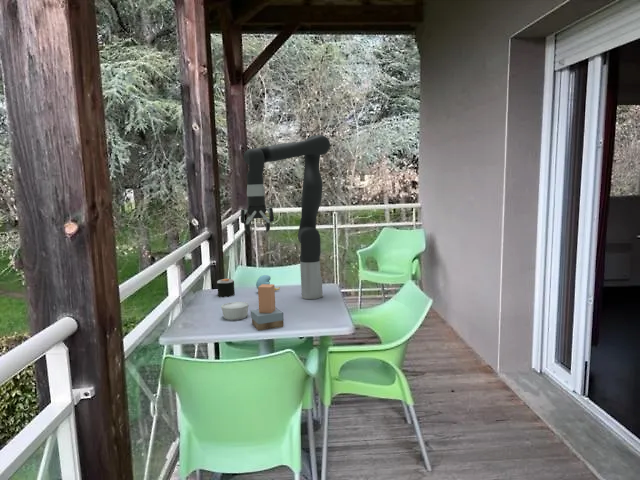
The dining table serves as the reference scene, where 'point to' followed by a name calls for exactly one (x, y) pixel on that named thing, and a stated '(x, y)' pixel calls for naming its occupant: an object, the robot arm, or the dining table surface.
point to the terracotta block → (266, 298)
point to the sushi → (225, 287)
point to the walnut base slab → (268, 325)
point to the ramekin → (235, 310)
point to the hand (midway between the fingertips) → (257, 232)
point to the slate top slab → (267, 316)
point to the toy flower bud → (264, 281)
